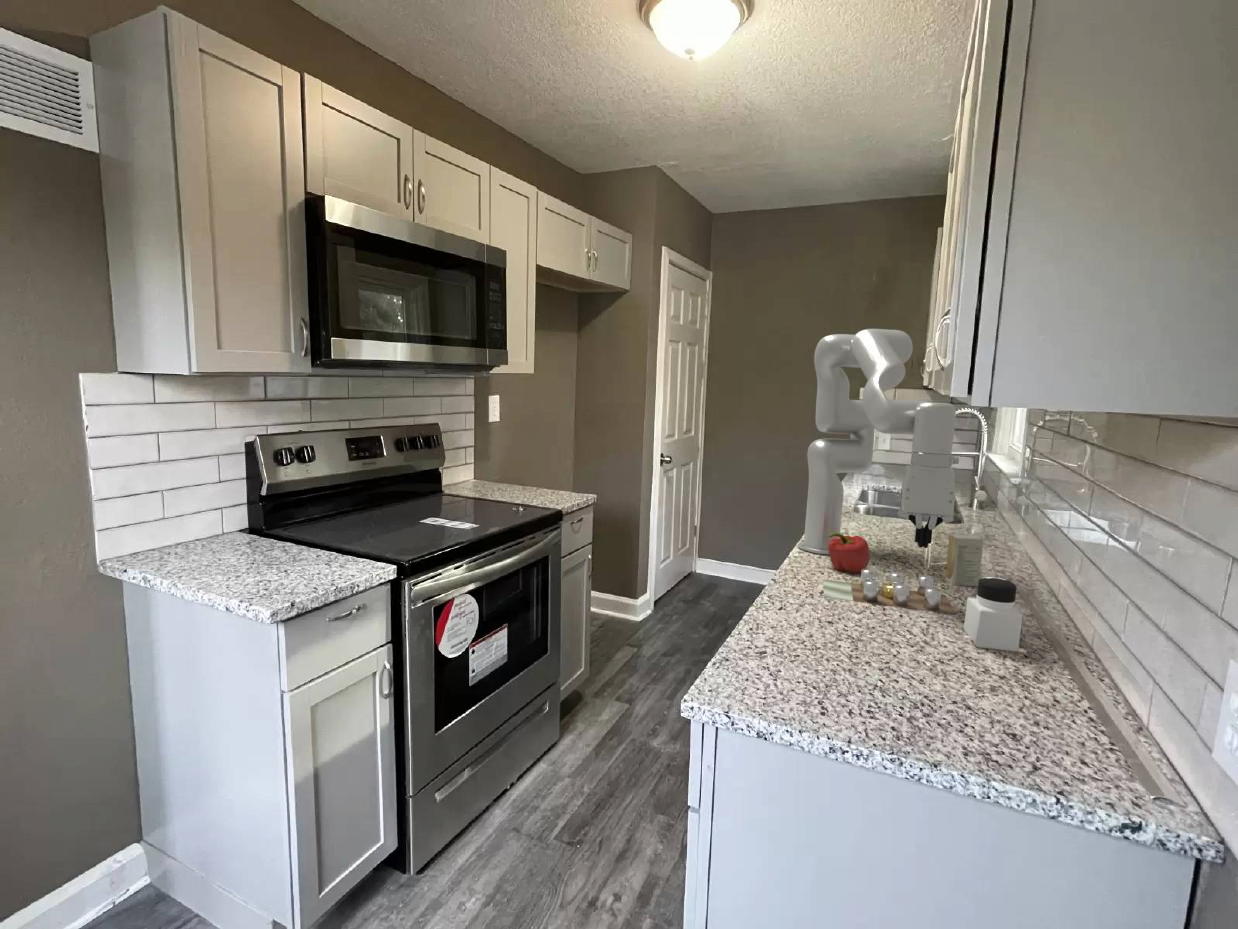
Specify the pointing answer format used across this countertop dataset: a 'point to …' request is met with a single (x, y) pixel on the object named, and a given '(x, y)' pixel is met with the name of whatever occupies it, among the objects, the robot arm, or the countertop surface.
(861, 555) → the vegetable
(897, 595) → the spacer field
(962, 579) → the skincare box
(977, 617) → the medicine bottle
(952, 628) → the countertop surface
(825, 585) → the board
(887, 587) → the brass knob
